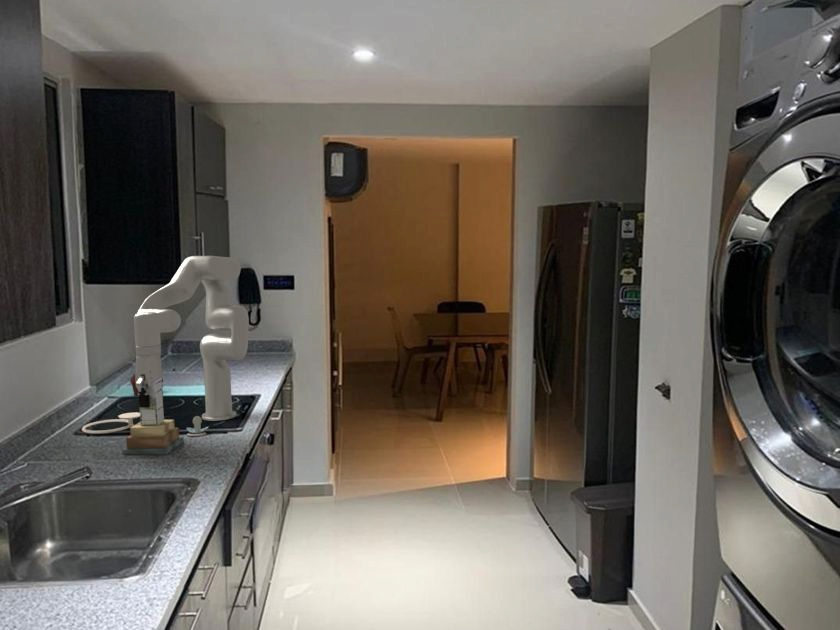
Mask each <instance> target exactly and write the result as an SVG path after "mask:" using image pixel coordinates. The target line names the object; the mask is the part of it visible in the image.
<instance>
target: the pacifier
mask: <svg viewBox="0 0 840 630" xmlns="http://www.w3.org/2000/svg"><path fill="white" fill-rule="evenodd" d="M202 422H203V419H202V417H200V416H199V415H195V416H194V417H193V419H192V424H193V427H186V431H188V433H187V434H186V436H188V437H201V436H206V435H207V432H205V431H207V430H208V429H209V426H206V427H203V428H201V427H202V425H201V424H202Z"/></svg>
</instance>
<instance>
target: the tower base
mask: <svg viewBox="0 0 840 630" xmlns="http://www.w3.org/2000/svg"><path fill="white" fill-rule="evenodd" d="M129 430H130V435H129V436H127V437H125V438H126V439H125V440H126V441H125V442H126V447H124V448H122V449H121V450H122V455H167V454H169V453H170V452H172V451H173V450H175V449H176V448H177V447H179V445H181V444H183V443H184V441H185V440H184V437H183V436H180V431H179V430H180V428H179V427H175V419H164V421H163V422H162V423H161V424H159V425H141V422H140V421H139V422H137V423H136V424H134V426H132V427H130V428H129Z"/></svg>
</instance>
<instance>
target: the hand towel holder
mask: <svg viewBox="0 0 840 630" xmlns="http://www.w3.org/2000/svg"><path fill="white" fill-rule="evenodd" d="M117 417H118V418H119V419H117V418H115V419H103V420H99V421H94V422H90V423H87V424H85V425H83V426H82V428H81V431H82V432H83V433H84V434H85V433H86V434H93V435H94V434H95V435H96V434H97V435H101V434H102V435H103V434H110V433H117V432H121V431H125V430H128V429H130V428H131V427H132V426H134V425H135V424H134V421H133V420H134V419H138V418H140V412H137V411H136V412H126V413H122V414H119V415H117ZM107 423H127V425H126V426H122V427H118V428H114V429H113V428H112V429H106V430H105V429H104V430H91V429H90V430H89V429H87V428H88V427H92V426H94V425H95V426H96V425H100V424H107Z"/></svg>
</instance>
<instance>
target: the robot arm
mask: <svg viewBox="0 0 840 630" xmlns="http://www.w3.org/2000/svg"><path fill="white" fill-rule="evenodd" d="M240 273H241V264H240V262H239V260H238V259H236V258H235V257H230V256H217V255H191V256H187V258H185V259H184V260H183V261H182V263H181V264H180V266H179V267H178V269H177V271H176V272H175V274H174V275H173V277H172V278H171V280H170V282H169V283H167V284H166V285H164V286H163V287H161V288H159V289H158V290H156V291H155V292H153V293H151V294H150V295H149V296H148V297H146V298H145V300H144V301H143V303H142V304H141V306H140V307H139V309H138V310H137V313H135V315H133V316H134V317H133V324H134V325H133V326H134V329H133V330H134V339H135V340H134V341H135V343H134V344H135V356H136V357H135V358H136V360H135V373H134V375H135V380H136V387H137V391H138V395H139V397H138V403H139V404H138V406H139V408H140V407H150V398H149V395H148V392H149V388H151V387H152V386H153V381H155V380H156V379H158V378H161V380H162V398H163V399H164V396H163V395H164V392H163V388H164V387H163V386H164V384H163V382H164V372H163V367H162V359H161V355H162V345H161V333H172V332H175V331H177V330H178V329H179V327H180V325H181V323H182V322H181V321H182V319H181V316H180V314H179V313H178V311H176V310H174V309H170V308H168V307H172V306H174V305H177V304H181V303H183V302H186V301H187V300H189V299H191V298H192V297H193V295H194V294H195V292H196V290H197V289H198V287H199V285H200V283H201V284H202V285H203V287H204V289H205V296H206V298H205V299H206V301H205V325H206V327H207V328H208V329H210V330H212V331H213V330H214V331H231V333H210V334H206V335H204V336H203V337H202V339H200V342H199V352H200V356H201V360H202V364H203V365H202V367H203V378H204V379H203V380H204V381H203V382H204V383H203V384H204V400H205V412H204V413H202V415H201V419H202V420H204V421H208V422H210V421H211V422H216V421H217V422H219V421H226V420H230V419H234V418H235V417H236V416H237V412H236V411H235V410H233V401H232V399H233V398H232V382H231V380H232V379H231V375H232V374H231V367H230V366H229V364H228V362H227V361H228V360H229V361H239V360H243V359H244V358H245V357H246V355H247V352H248V348H249V326H250V325H249V323H250V322H249V321H250V318H249V314H248V310H247V309H246V307H244V306H243V305H241V304H240V305H239V304H231V299H230V297H231V293H230V289H229V287H228V285H227V283H226V282H227V281H235V280H236V279H238V278H239V276H240ZM225 281H226V282H225ZM144 388H146V390H145V389H144Z"/></svg>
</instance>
